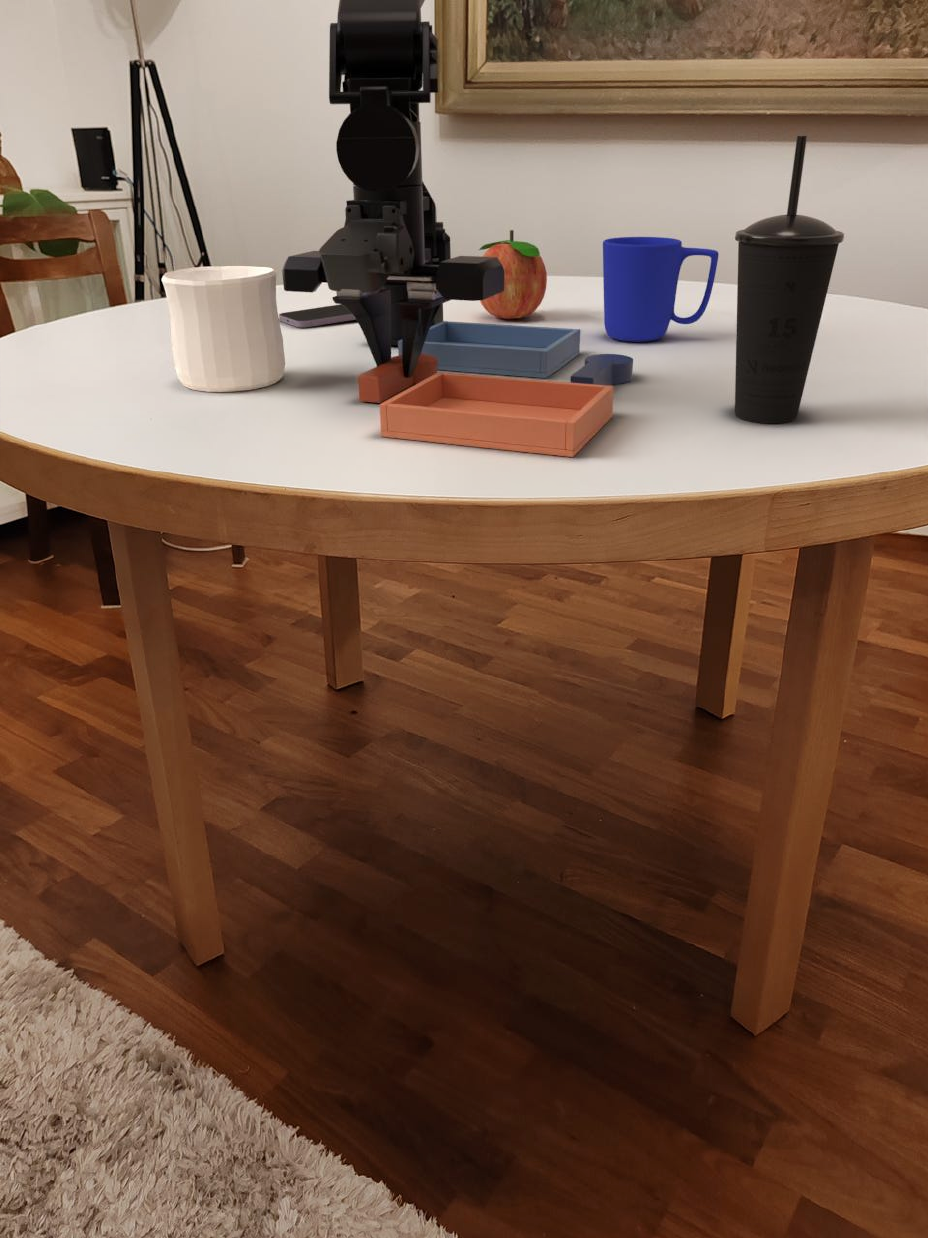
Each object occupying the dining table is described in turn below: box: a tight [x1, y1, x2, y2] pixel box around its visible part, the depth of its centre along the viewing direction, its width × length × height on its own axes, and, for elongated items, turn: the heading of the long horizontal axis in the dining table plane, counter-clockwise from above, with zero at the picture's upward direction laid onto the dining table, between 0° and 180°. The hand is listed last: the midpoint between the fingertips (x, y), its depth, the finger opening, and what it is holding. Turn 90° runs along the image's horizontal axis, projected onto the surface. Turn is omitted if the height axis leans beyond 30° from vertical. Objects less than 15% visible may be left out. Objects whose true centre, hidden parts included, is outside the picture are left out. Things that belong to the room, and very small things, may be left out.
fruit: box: [478, 229, 548, 320], centre depth 114 cm, size 9×10×10 cm
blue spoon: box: [569, 353, 634, 386], centre depth 85 cm, size 11×4×2 cm, turn 158°
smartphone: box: [278, 304, 357, 328], centre depth 118 cm, size 7×1×15 cm
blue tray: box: [397, 320, 581, 379], centre depth 95 cm, size 15×11×2 cm
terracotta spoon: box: [357, 354, 439, 404], centre depth 85 cm, size 11×4×2 cm, turn 158°
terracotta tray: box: [379, 371, 615, 458], centre depth 74 cm, size 15×11×2 cm
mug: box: [602, 236, 719, 343], centre depth 102 cm, size 8×12×10 cm
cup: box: [160, 265, 286, 393], centre depth 87 cm, size 10×10×10 cm
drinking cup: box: [734, 135, 845, 424], centre depth 72 cm, size 8×8×20 cm
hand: (396, 375), depth 85 cm, fingers closed on terracotta spoon, 2 cm apart
